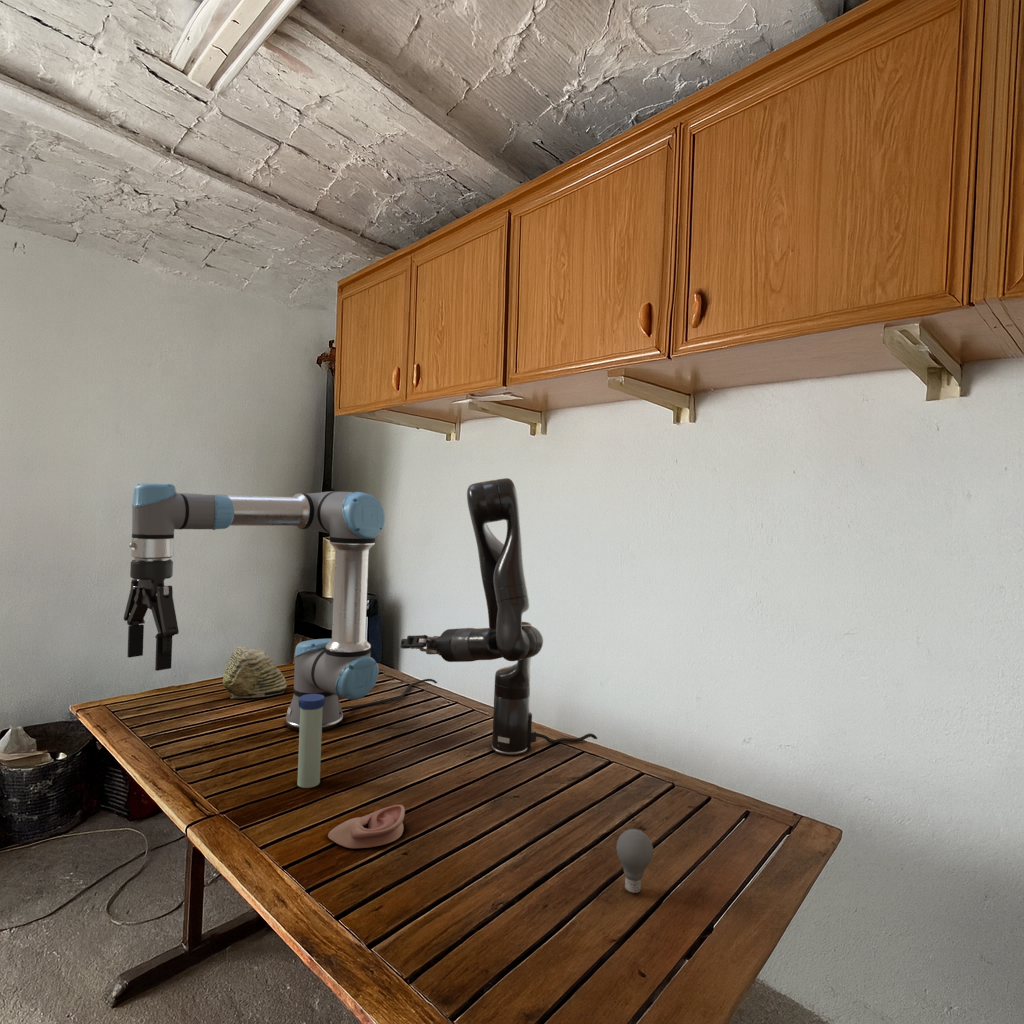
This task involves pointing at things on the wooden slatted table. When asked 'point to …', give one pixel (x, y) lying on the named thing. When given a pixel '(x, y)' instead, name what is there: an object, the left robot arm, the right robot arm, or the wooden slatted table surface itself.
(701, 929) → the wooden slatted table surface
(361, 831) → the anatomical model
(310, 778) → the jar
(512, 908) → the wooden slatted table surface
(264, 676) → the fossil
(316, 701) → the lid
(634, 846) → the light bulb
